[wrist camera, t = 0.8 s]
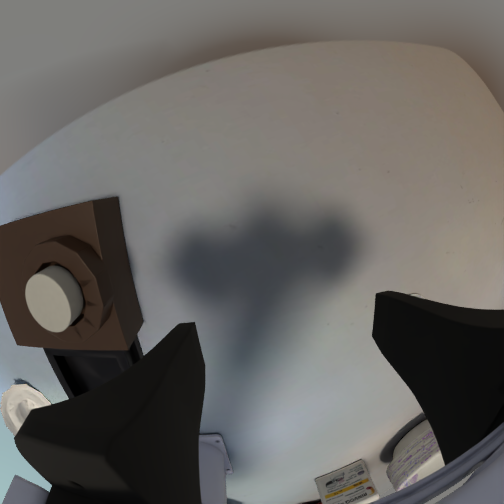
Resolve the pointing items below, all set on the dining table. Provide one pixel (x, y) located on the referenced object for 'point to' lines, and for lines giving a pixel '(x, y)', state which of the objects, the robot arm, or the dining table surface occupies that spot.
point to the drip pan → (90, 366)
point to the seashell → (20, 405)
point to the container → (347, 486)
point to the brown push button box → (81, 267)
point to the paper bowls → (415, 457)
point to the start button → (54, 298)
